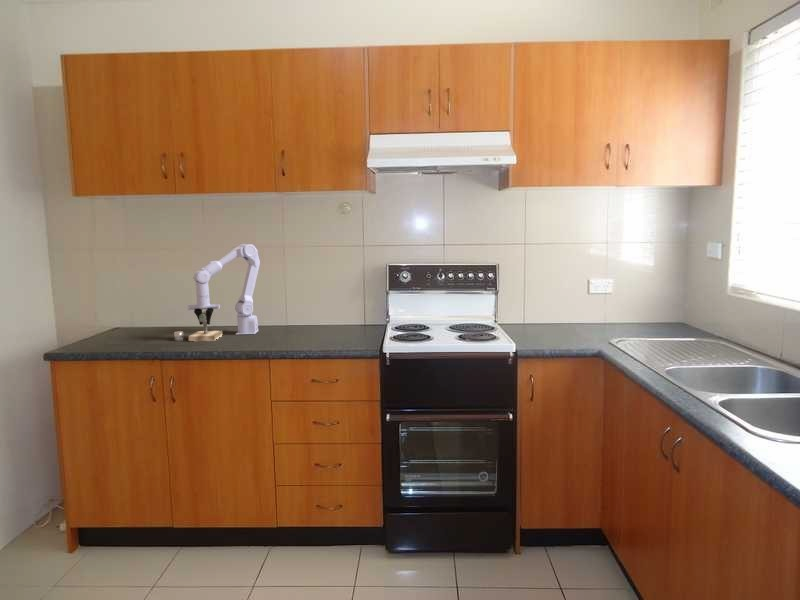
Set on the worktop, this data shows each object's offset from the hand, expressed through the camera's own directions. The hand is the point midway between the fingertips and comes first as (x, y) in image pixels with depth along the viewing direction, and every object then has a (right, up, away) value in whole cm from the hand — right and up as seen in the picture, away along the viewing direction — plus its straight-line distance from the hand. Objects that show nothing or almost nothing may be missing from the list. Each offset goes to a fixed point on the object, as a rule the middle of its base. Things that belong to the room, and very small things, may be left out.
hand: (205, 324), depth 260 cm
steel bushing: (-12, -8, -1) cm, 14 cm away
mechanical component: (0, -5, +1) cm, 5 cm away
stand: (0, -7, +1) cm, 7 cm away
